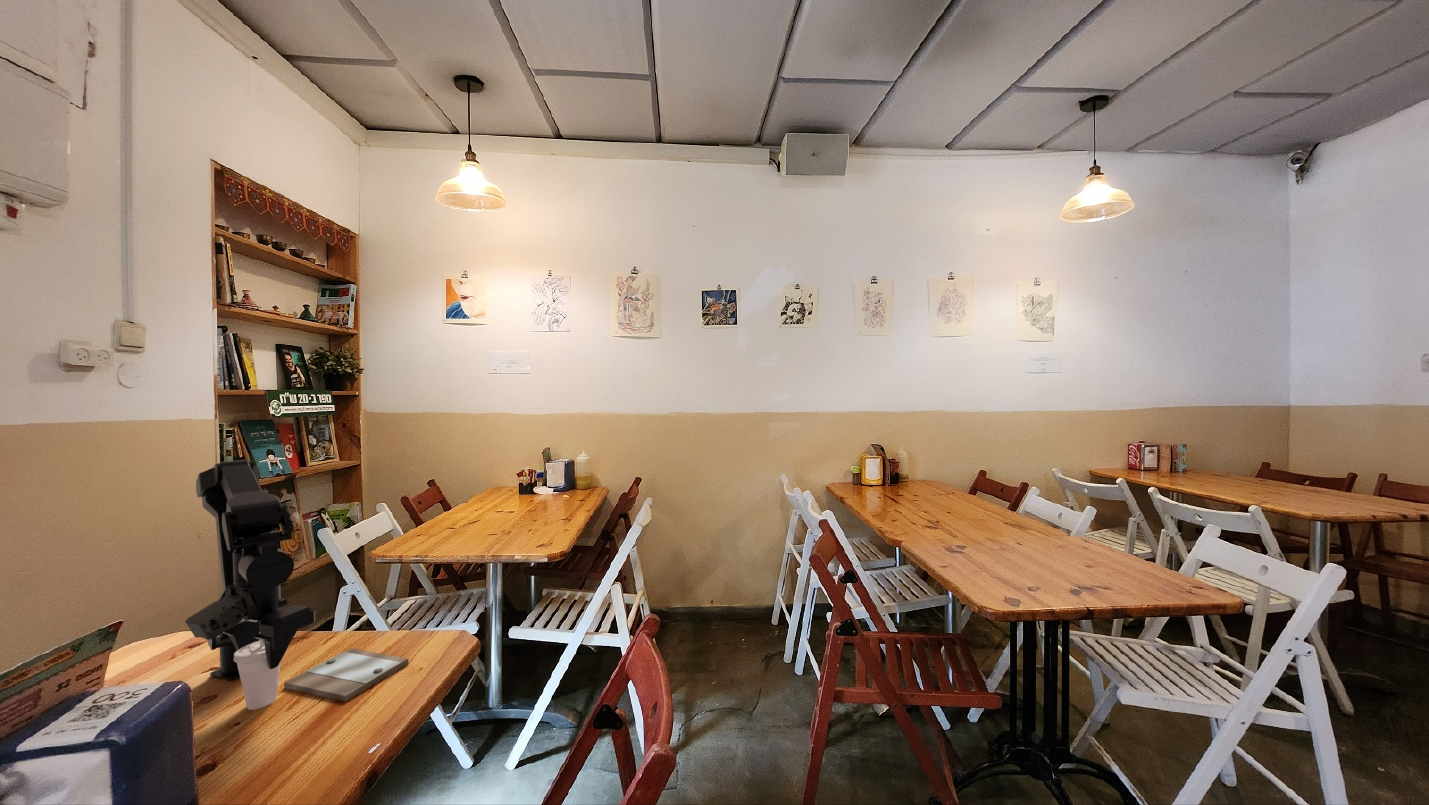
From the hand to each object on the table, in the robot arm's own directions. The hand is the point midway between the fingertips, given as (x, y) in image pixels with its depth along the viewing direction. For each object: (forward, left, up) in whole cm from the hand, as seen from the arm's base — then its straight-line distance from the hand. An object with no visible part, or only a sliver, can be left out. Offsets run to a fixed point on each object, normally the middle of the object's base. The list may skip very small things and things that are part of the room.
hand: (260, 665), depth 83 cm
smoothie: (0, 0, -7) cm, 7 cm away
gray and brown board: (+7, +10, -6) cm, 14 cm away
